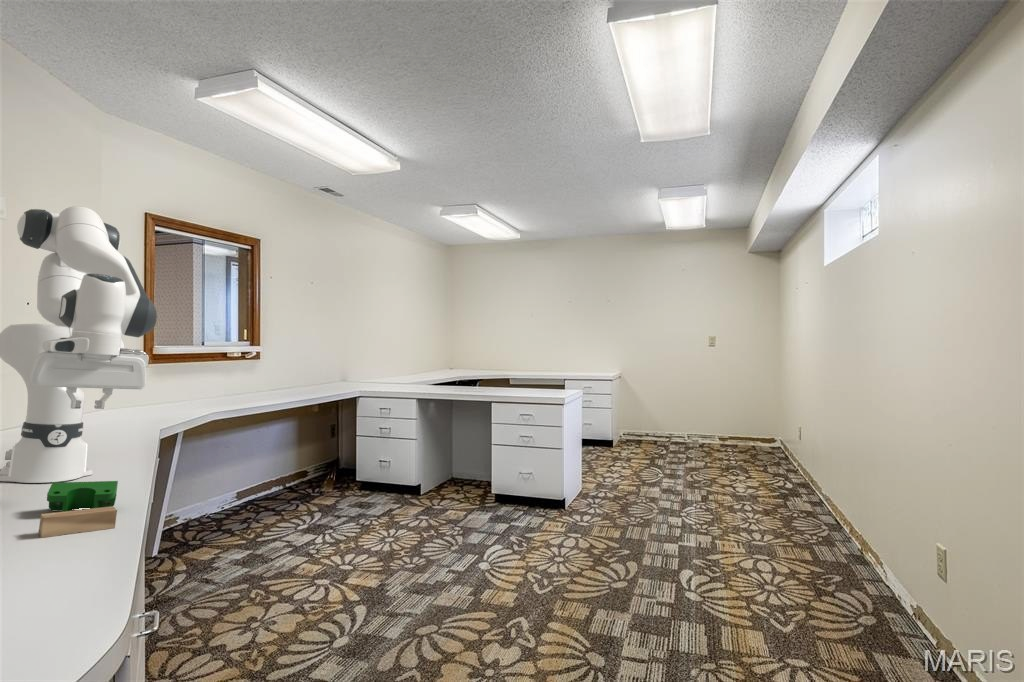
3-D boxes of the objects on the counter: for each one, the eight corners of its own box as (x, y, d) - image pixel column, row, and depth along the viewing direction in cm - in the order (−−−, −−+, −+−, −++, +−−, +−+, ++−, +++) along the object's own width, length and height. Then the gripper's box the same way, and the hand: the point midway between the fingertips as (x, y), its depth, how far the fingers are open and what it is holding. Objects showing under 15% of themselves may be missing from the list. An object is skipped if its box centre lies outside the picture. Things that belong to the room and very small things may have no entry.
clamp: (54, 536, 110) (34, 499, 107) (60, 521, 115) (42, 485, 112) (122, 511, 115) (106, 476, 112) (126, 498, 120) (110, 464, 117)
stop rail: (38, 533, 99) (40, 513, 99) (110, 523, 107) (112, 506, 107) (41, 537, 97) (44, 518, 97) (114, 527, 105) (117, 509, 105)
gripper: (145, 350, 129) (138, 407, 128) (33, 341, 113) (24, 406, 112) (154, 351, 125) (146, 410, 124) (39, 342, 109) (29, 409, 108)
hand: (87, 408), depth 118 cm, fingers open, 3 cm apart
